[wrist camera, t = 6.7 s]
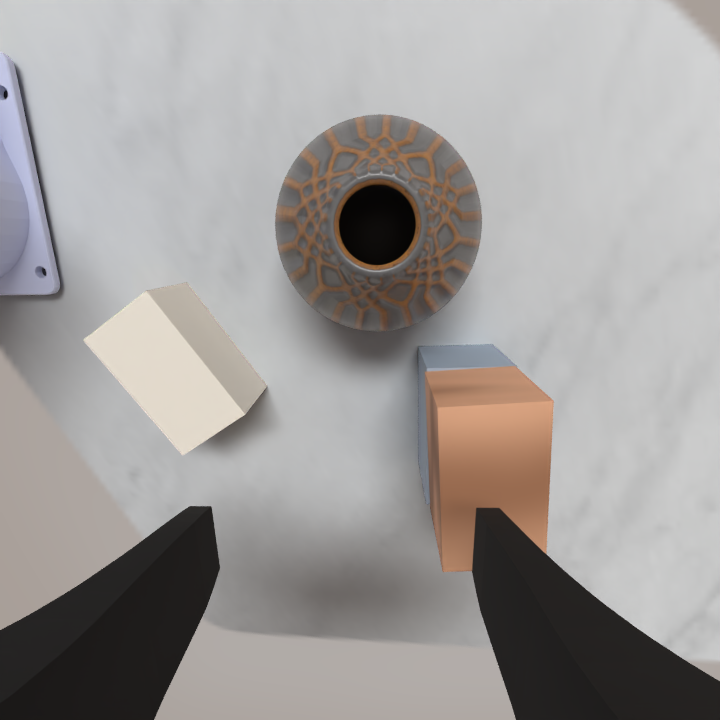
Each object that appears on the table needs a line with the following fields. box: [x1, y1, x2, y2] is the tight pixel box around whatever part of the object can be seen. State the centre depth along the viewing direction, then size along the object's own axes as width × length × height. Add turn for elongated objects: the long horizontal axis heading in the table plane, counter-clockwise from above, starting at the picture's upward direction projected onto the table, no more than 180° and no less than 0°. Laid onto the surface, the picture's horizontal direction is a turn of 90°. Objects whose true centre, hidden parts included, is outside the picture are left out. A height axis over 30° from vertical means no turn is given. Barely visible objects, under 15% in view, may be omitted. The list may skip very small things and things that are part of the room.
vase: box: [275, 115, 482, 331], centre depth 14 cm, size 7×7×9 cm
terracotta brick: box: [425, 366, 554, 572], centre depth 15 cm, size 6×3×4 cm, turn 5°
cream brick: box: [83, 282, 267, 455], centre depth 18 cm, size 6×3×4 cm, turn 35°
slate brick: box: [418, 344, 517, 504], centre depth 18 cm, size 6×3×4 cm, turn 3°
